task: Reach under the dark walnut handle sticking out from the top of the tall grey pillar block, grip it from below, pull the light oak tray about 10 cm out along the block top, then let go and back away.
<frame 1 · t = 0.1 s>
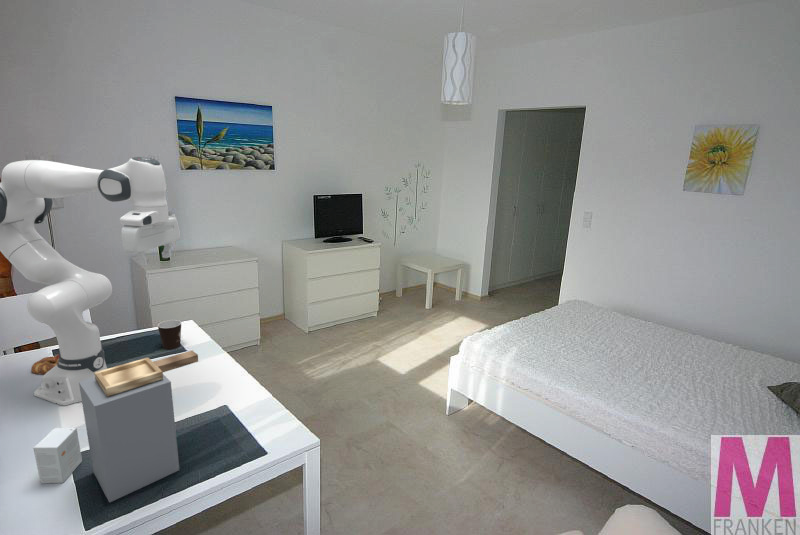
hand: (155, 261, 133), 48 cm above the table, tool pointing down, fingers open, 8 cm apart
tall grey pillar block: (136, 471, 116), on the table
small box: (62, 472, 114), on the table
coffee mug: (174, 345, 185), on the table
pretzel: (52, 369, 163), on the table
oak tray: (151, 369, 113), point 27 cm above the table, slide at 0.0 cm
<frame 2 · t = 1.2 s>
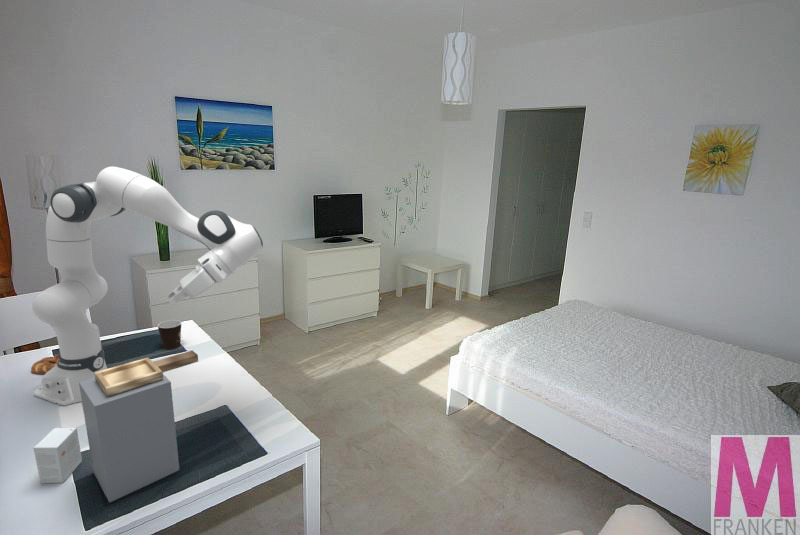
hand: (169, 300, 121), 41 cm above the table, tool tilted 55°, fingers open, 8 cm apart
nothing on the table moved.
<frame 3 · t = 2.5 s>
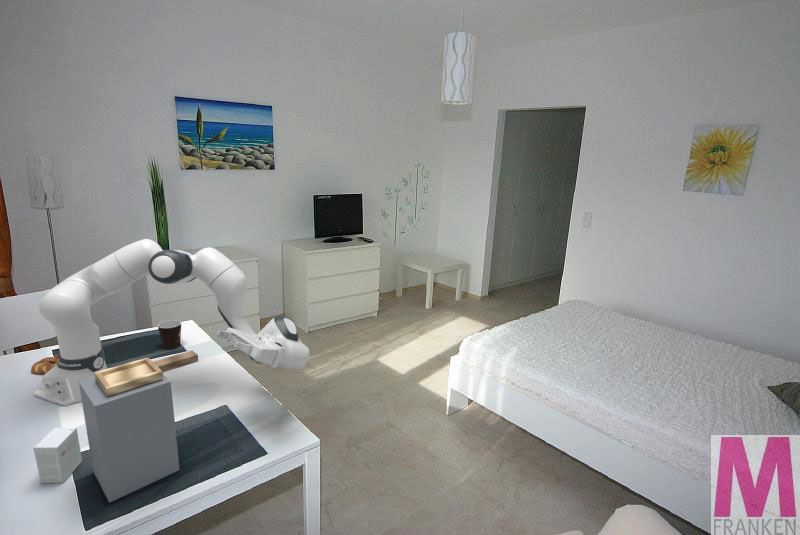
hand: (226, 338, 126), 30 cm above the table, tool pointing upward, fingers open, 8 cm apart
nothing on the table moved.
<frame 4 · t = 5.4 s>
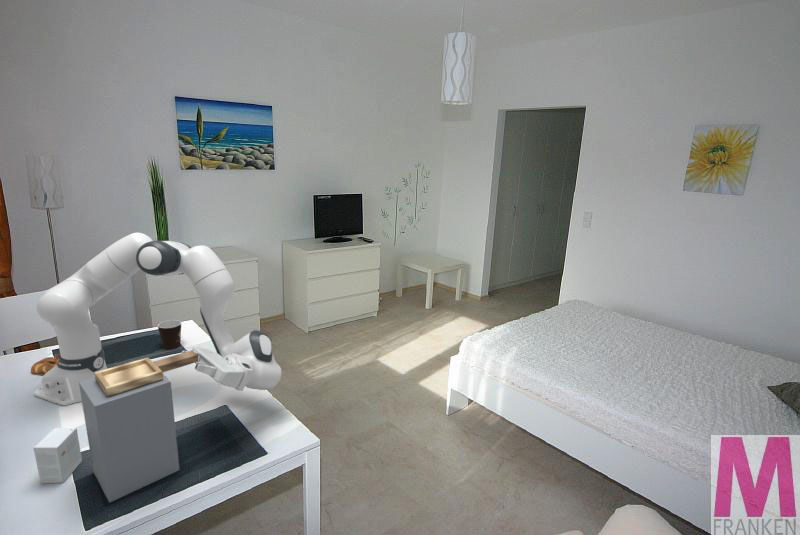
hand: (189, 360, 119), 27 cm above the table, tool pointing upward, fingers open, 8 cm apart
nothing on the table moved.
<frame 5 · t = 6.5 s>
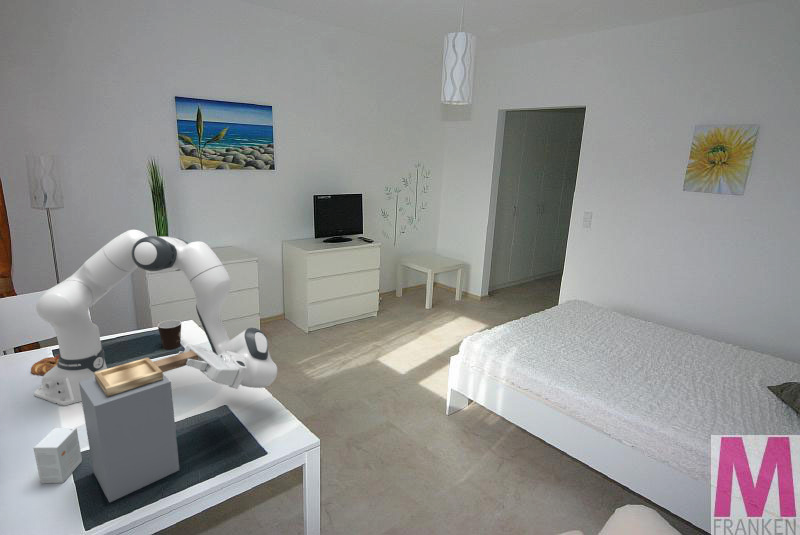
hand: (182, 358, 118), 28 cm above the table, tool pointing upward, fingers closed on oak tray, 3 cm apart
oak tray: (151, 369, 113), point 27 cm above the table, slide at 0.0 cm, touching gripper
everything else where it was.
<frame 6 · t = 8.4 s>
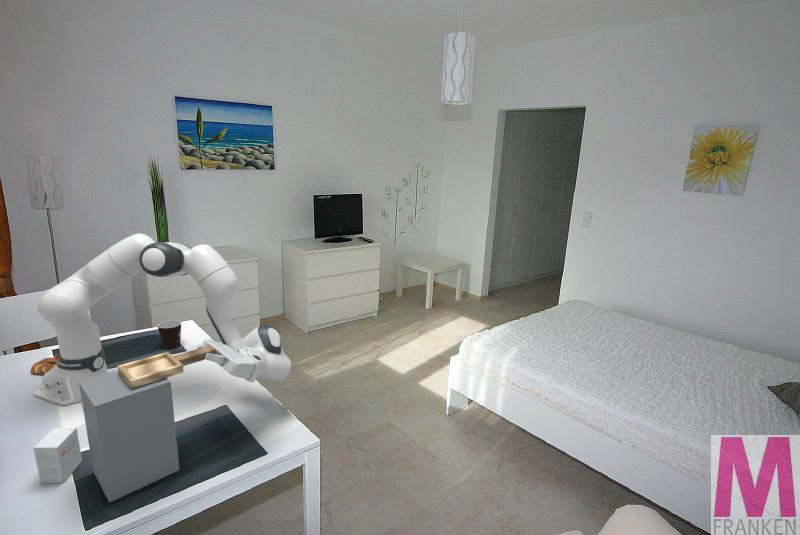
hand: (201, 352, 121), 28 cm above the table, tool pointing upward, fingers closed on oak tray, 3 cm apart
oak tray: (171, 362, 116), point 27 cm above the table, slide at 4.9 cm, touching gripper
everything else where it was.
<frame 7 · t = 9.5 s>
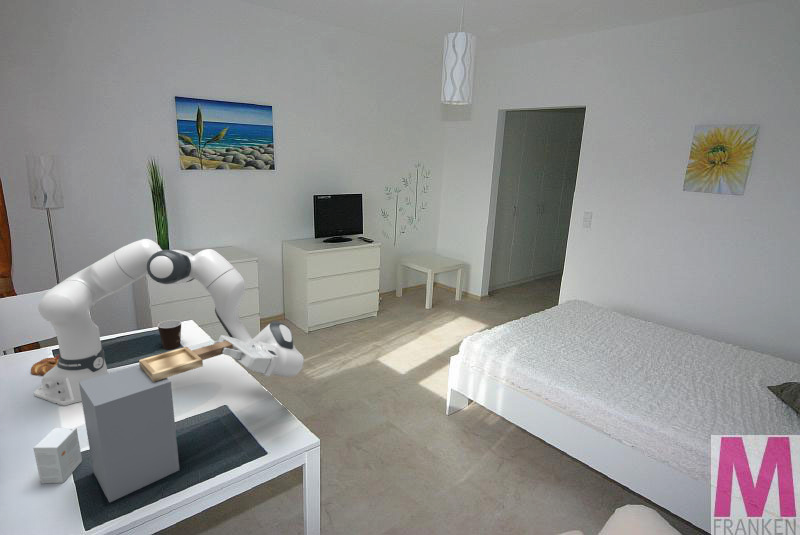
hand: (218, 347, 125), 28 cm above the table, tool pointing upward, fingers closed on oak tray, 3 cm apart
oak tray: (190, 357, 120), point 27 cm above the table, slide at 9.8 cm, touching gripper
everything else where it was.
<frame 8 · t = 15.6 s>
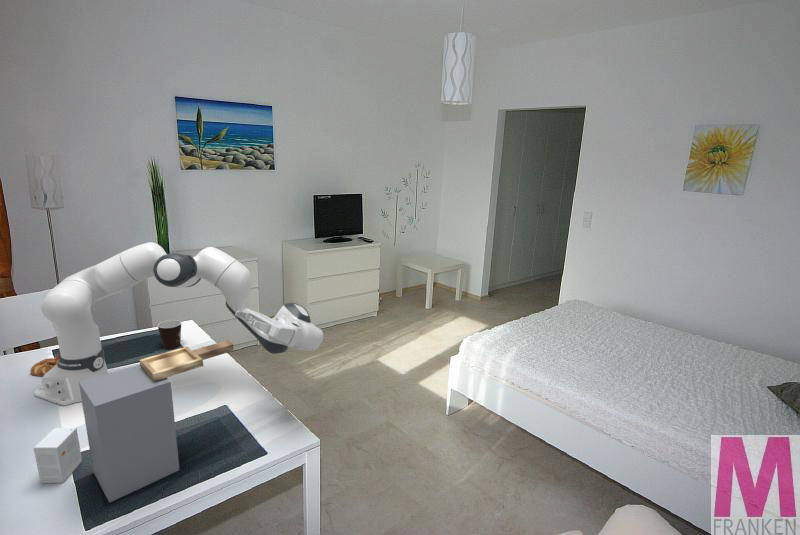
hand: (244, 318, 129), 34 cm above the table, tool pointing upward, fingers open, 8 cm apart
oak tray: (191, 357, 120), point 27 cm above the table, slide at 9.9 cm
at the end: oak tray slide at 9.9 cm; the gripper is holding nothing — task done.
